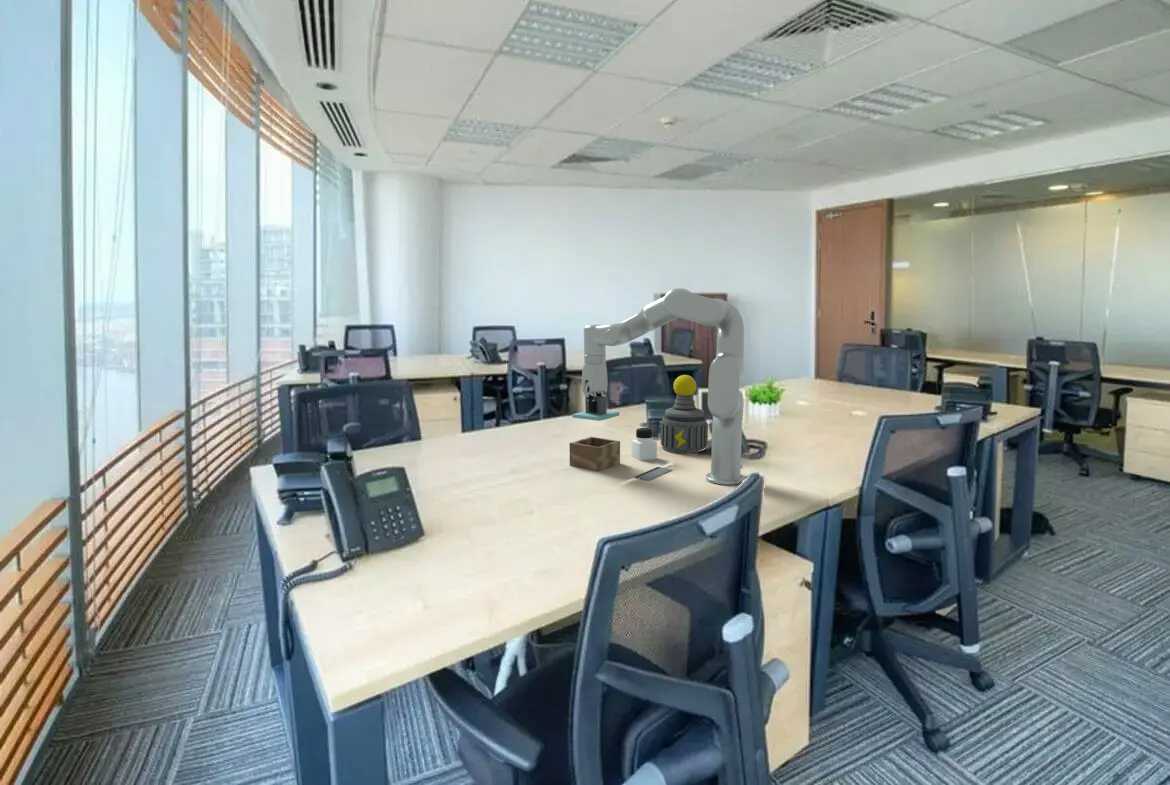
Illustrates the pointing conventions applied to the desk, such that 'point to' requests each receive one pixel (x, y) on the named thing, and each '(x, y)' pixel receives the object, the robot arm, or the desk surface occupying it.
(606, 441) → the box
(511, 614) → the desk surface
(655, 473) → the mat
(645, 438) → the medicine bottle
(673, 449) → the decorative lamp
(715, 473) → the robot arm
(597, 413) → the lid
